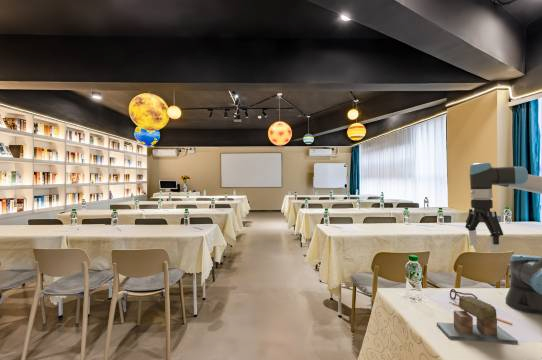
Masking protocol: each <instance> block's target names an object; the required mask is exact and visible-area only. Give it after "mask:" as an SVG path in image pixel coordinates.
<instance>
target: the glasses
mask: <svg viewBox="0 0 542 360" xmlns="http://www.w3.org/2000/svg"><path fill="white" fill-rule="evenodd" d="M452 293H454V296H453V297H452ZM468 295H469V296H472V297H474V298H476V299H478V297H477V296H476V295H475V294H473V293H468V292H466V293H465V292H460V291H456V290H455V289H454V288H451V289H450V291H449V297H450V298H451V300H456V298H457V297H459V298H460V297H463V296H468ZM488 304H489V305H491V304H490V303H488Z"/></svg>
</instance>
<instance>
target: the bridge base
mask: <svg viewBox="0 0 542 360" xmlns="http://www.w3.org/2000/svg"><path fill="white" fill-rule="evenodd" d="M436 326H437V327H438V328H439V329H440V330H441V331H442V332H443V333H444V334H445V335H446V337H447V338H448V339H449V340H462V341H463V340H464V341H478V342H490V343H506V344H519V341H518V339H516V338H515V337H514V336H512V335H511V334H509V333H508V332H507V331H506V330H504V329H503V328H501V326H498V318H496V320H492V321H485V320H481V319H479V318H477V317H476V324H474V316H473V315H471V314H469V313H468V312H465V311H464V310H453V323H452V322H450V323H449V322H436Z"/></svg>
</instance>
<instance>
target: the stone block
mask: <svg viewBox="0 0 542 360" xmlns="http://www.w3.org/2000/svg"><path fill="white" fill-rule="evenodd" d="M462 296H463V297H459V301H458V307H459V308H460V309H461V311H465V312H467V313H468V314H469V315H471V316H472V317H475V318H476V319H477V318H479V319H481V320H485V321H492V320H496V318H497V309H496V308H495V307H494V306H493V305H492V304H490V303H488V302H487V303H486V302H485V301H483V300H481V299H478V298H475V297H474V296H472V295H469V296H468V295H462ZM489 304H490V305H489ZM497 319H498V318H497Z"/></svg>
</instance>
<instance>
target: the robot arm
mask: <svg viewBox="0 0 542 360" xmlns="http://www.w3.org/2000/svg"><path fill="white" fill-rule="evenodd" d="M469 184H470V185H469V186H470V198H471V199H470V206H471V207H470V208H469V209H468V216H467V219H466V224H465V229H466V230H468V234H469V235H468V236H469V246H478V240H477V239H478V237H477V227H478V226H479V224H480V222H483V223H484V224H485V226H486V228H487V229H488V231H489V233H490V235H489V241H490V253H493V254H494V253H500V236H501V237H502V236H504V231H503V228H502V227H501V224H500V221H499V219H498V215H497V214H498V213H497V211H491V209H493V208H494V207H493V204H494V202H493V200H492V199H493V198H494V197H493V186H500V187H502V188H503V187H504V188H508V189H509V188H510V189H516V190H521V191H525V192H531V193H534V194H540V195H542V176H540V175H536V174H529V173H528V170H527V168H526V167H524V166H516V165H514V166H497V167H495V166H492V164H491V163H490V162H479V163H472V164H470V166H469ZM509 269H510V270H509V271H510V273H509V274H510V275H509V276H510V277H509V279H510V281H509V282H510V283H509V284H510V287H509V288H508V289H509V290H508V291H507V293H506V296H505V304H506V305H507V306H509V307H511V308H513V309H515V310H518V311H522V312H526V313H529V314H536V315H542V256H537V255H529V254H528V255H527V254H512V255H510V261H509Z"/></svg>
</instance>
